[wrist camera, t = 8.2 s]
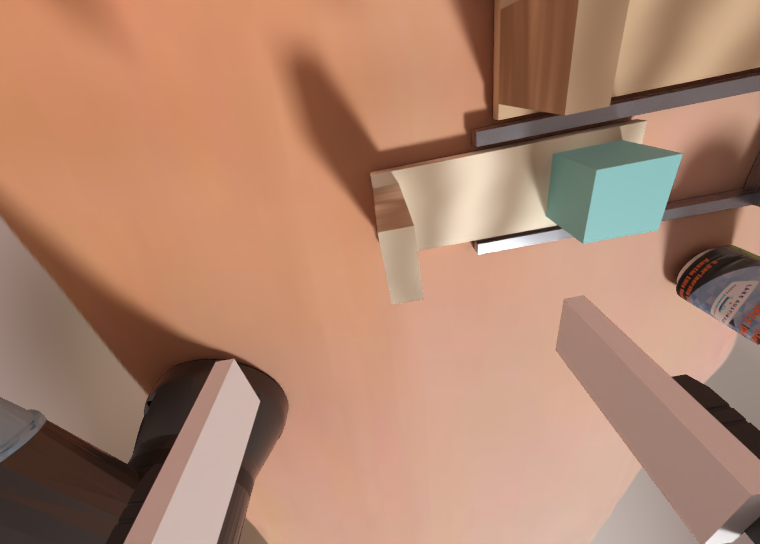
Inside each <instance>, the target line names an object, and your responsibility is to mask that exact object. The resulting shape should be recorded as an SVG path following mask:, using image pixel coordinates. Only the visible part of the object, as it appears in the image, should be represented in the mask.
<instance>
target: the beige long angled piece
mask: <svg viewBox="0 0 760 544" xmlns="http://www.w3.org/2000/svg"><path fill="white" fill-rule="evenodd" d="M646 124H647V121H646V120H639V119H635V120H630V121H625V122H620V123H615V124H610V125H605V126H600V127H595V128H590V129H585V130H580V131H575V132H570V133H565V134H560V135H555V136H550V137H545V138H540V139H535V140H530V141H525V142H520V143H515V144H510V145H505V146H500V147H494V148H489V149H484V150H479V151H474V152H469V153H464V154H459V155H454V156H449V157H444V158H439V159H434V160H429V161H424V162H419V163H414V164H409V165H404V166H399V167H394V168H389V169H384V170H379V171H374V172H370V177H371V182H372V187H373V195H374V205H375V214H376V223H377V233H378V238H379V243H380V248H381V252H382V257H383V262H384V267H385V272H386V277H387V282H388V287H389V292H390V297H391V302H392V305H394V304H400V303H406V302H411V301H417V300H423V299H424V296H423V289H422V281H421V273H420V266H419V258H418V251H420V250H425V249H431V248H436V247H442V246H447V245H453V244H458V243H464V242H469V241H474V240H480V239H485V238H491V237H496V236H502V235H507V234H513V233H518V232H523V231H529V230H534V229H540V228H545V227H551V226H556V225H557V224H555V223H554V222H553V221H551V220H550V219H549V218H547V217H546V211H547V202H548V193H549V184H550V175H551V166H552V157H553V153H558V152H563V151H568V150H573V149H579V148H584V147H589V146H594V145H599V144H604V143H609V142H614V141H619V140H625V141H629V142H634V143H638V144H642V140H643V136H644V132H645V128H646Z"/></svg>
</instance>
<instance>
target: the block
mask: <svg viewBox="0 0 760 544" xmlns="http://www.w3.org/2000/svg"><path fill="white" fill-rule="evenodd" d="M682 155H683V154H682V153H678V152H674V151H669V150H665V149H660V148H656V147H651V146H647V145H643V144H638V143H634V142H629V141H625V140H619V141H614V142H609V143H604V144H599V145H594V146H589V147H584V148H579V149H573V150H568V151H563V152H558V153H553V157H552V166H551V175H550V184H549V193H548V202H547V211H546V217H547V218H549V219H550V220H551V221H553V222H554V223H555V224H557V225H558V226H560V227H561V228H562V229H564V230H565V231H566V232H568V233H569V234H570V235H572V236H573V237H574V238H576V239H577V240H579V241H580V242H581V243H583V244H584V243H590V242H595V241H601V240H606V239H612V238H618V237H623V236H629V235H634V234H640V233H645V232H651V231H656V230H658V229H659V226H660V223H661V220H662V217H663V214H664V211H665V208H666V205H667V202H668V198H669V195H670V192H671V189H672V186H673V183H674V180H675V177H676V174H677V171H678V167H679V164H680V161H681V158H682Z"/></svg>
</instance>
